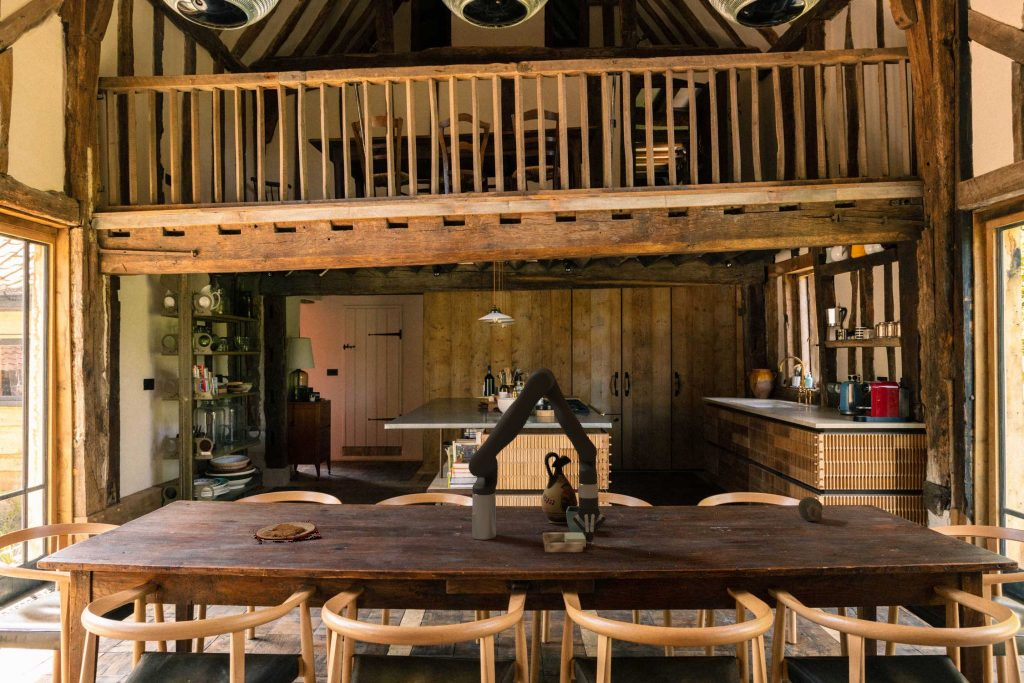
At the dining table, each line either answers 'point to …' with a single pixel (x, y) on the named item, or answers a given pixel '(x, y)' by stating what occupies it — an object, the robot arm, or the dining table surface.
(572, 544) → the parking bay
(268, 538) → the plate with food
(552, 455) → the ceramic jug
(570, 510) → the flower pot
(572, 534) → the cream footed box
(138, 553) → the dining table surface
